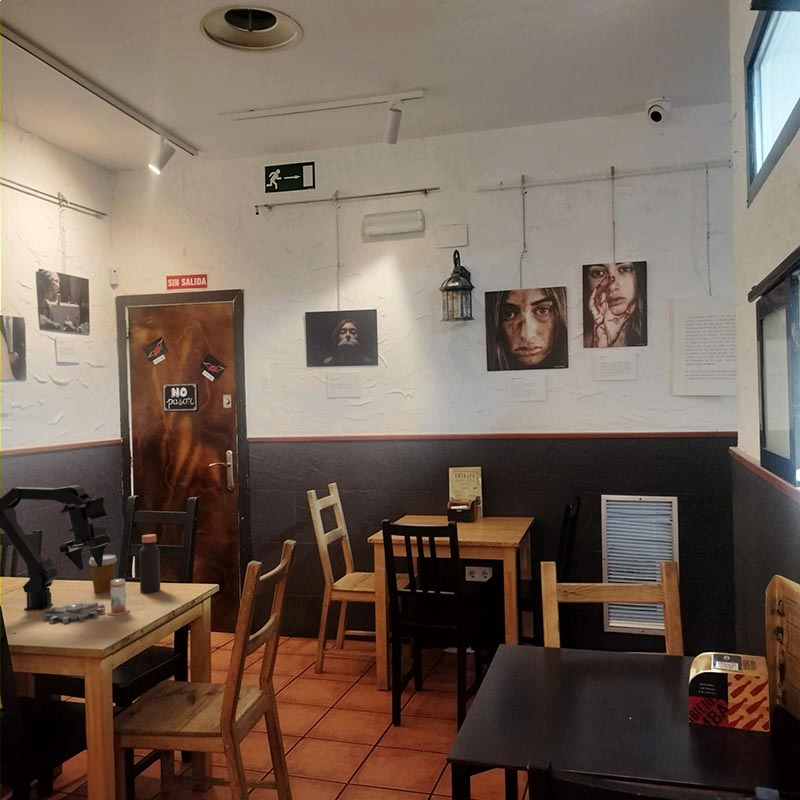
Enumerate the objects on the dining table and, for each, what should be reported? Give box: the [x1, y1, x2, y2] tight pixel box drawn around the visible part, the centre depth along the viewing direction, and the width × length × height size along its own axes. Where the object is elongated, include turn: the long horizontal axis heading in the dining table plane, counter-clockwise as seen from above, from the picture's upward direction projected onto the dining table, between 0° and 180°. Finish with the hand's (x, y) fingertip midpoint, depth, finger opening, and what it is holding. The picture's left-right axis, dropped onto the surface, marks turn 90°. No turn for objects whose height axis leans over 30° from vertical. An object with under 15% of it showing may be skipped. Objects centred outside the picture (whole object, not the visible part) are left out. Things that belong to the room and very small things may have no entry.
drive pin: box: [110, 578, 127, 613], centre depth 233 cm, size 4×4×10 cm
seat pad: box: [106, 608, 131, 616], centre depth 233 cm, size 7×7×1 cm
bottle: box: [139, 533, 161, 594], centre depth 259 cm, size 7×7×20 cm
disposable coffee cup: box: [88, 554, 118, 593], centre depth 262 cm, size 10×10×12 cm
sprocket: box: [43, 601, 106, 624], centre depth 231 cm, size 18×18×3 cm
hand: (90, 568), depth 241 cm, fingers open, 9 cm apart
